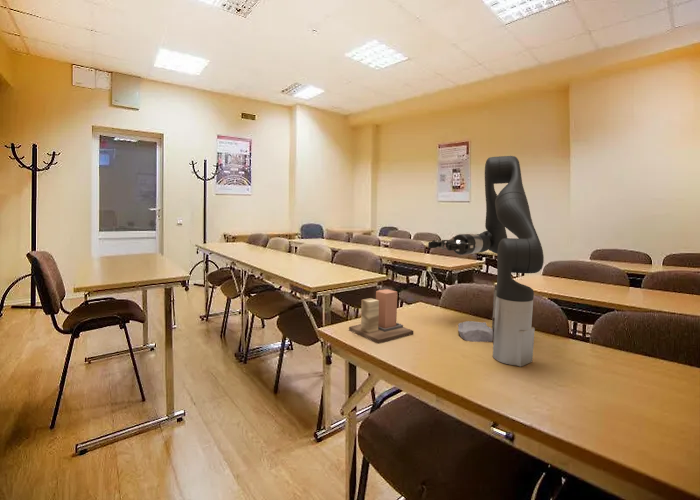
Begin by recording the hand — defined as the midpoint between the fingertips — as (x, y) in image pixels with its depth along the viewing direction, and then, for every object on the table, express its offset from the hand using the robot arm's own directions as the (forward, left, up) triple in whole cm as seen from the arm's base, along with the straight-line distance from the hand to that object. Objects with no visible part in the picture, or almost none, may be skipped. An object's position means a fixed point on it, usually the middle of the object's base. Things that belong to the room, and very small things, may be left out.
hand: (438, 246), depth 129 cm
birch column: (+6, +25, -27) cm, 37 cm away
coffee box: (-20, -9, -28) cm, 36 cm away
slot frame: (+6, +18, -27) cm, 33 cm away
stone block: (-14, -2, -28) cm, 32 cm away
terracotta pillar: (+6, +18, -27) cm, 33 cm away
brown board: (+5, +21, -28) cm, 35 cm away
